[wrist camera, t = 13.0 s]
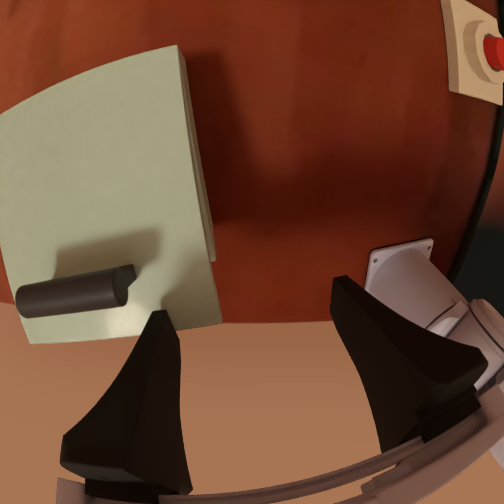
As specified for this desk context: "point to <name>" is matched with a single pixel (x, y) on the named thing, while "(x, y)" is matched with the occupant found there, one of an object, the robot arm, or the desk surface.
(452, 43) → the control block
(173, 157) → the freezer lid
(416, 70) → the desk surface
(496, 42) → the power button
